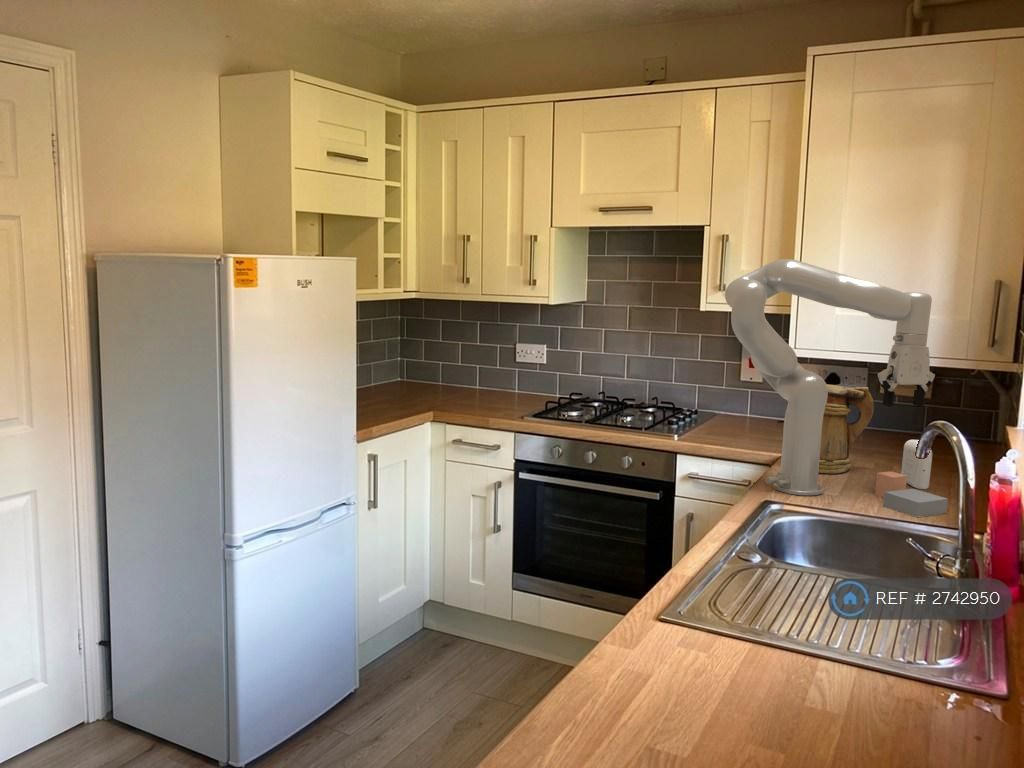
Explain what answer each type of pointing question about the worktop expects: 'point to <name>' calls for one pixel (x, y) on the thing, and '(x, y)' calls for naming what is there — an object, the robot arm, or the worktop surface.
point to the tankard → (842, 426)
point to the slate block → (915, 502)
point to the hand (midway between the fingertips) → (903, 405)
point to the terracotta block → (889, 482)
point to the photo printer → (916, 466)
